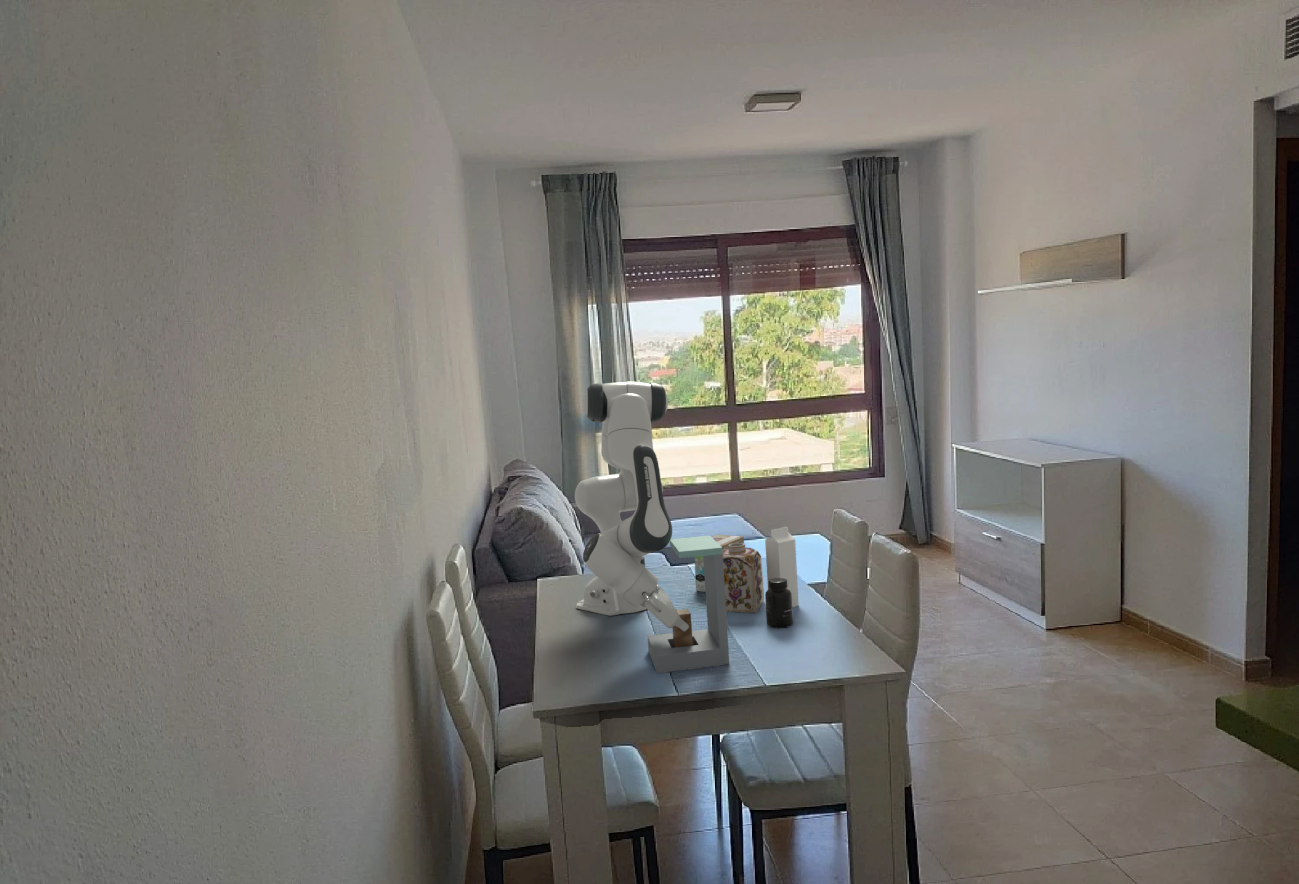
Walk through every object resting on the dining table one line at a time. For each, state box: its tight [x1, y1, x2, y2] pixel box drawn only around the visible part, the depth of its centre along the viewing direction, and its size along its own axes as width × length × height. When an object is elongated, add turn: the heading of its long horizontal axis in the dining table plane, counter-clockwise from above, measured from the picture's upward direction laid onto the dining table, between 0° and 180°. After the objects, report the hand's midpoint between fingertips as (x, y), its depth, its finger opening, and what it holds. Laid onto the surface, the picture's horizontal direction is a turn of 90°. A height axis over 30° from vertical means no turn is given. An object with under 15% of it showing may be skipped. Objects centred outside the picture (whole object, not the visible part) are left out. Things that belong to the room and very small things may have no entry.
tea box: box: [694, 534, 745, 593], centre depth 269 cm, size 15×10×15 cm, turn 148°
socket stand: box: [647, 535, 730, 674], centre depth 208 cm, size 17×15×28 cm
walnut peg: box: [671, 608, 693, 648], centre depth 209 cm, size 4×4×11 cm
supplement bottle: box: [764, 578, 794, 629], centre depth 229 cm, size 7×7×12 cm
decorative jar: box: [722, 542, 765, 614], centre depth 247 cm, size 12×12×18 cm
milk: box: [764, 526, 800, 608], centre depth 245 cm, size 6×6×22 cm
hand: (684, 623), depth 209 cm, fingers open, 5 cm apart
